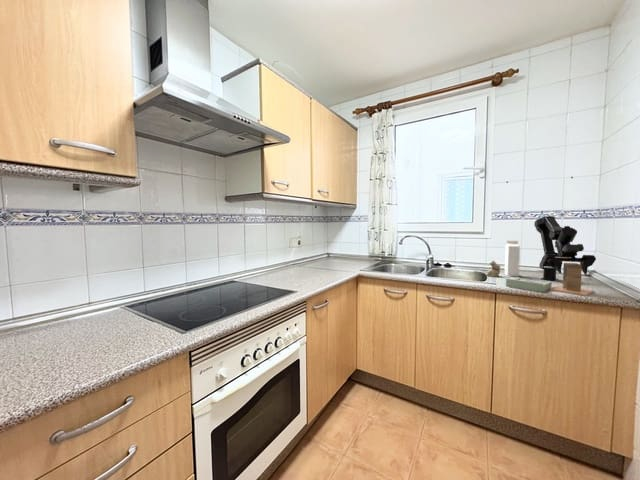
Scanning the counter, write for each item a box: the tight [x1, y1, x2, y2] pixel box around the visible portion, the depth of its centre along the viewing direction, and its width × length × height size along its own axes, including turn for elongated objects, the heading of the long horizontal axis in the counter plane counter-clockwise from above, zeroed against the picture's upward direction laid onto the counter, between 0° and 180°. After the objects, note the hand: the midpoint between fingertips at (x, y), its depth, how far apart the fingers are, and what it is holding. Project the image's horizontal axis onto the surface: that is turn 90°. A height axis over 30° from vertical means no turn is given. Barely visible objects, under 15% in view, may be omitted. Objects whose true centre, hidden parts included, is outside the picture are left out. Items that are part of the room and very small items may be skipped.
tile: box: [548, 284, 595, 297], centre depth 128 cm, size 13×13×1 cm
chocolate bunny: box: [485, 260, 501, 278], centre depth 166 cm, size 6×8×10 cm
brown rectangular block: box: [562, 262, 583, 291], centre depth 128 cm, size 5×5×12 cm
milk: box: [504, 240, 521, 278], centre depth 166 cm, size 6×6×22 cm
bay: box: [505, 277, 553, 293], centre depth 137 cm, size 14×15×4 cm
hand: (573, 273), depth 126 cm, fingers open, 9 cm apart
